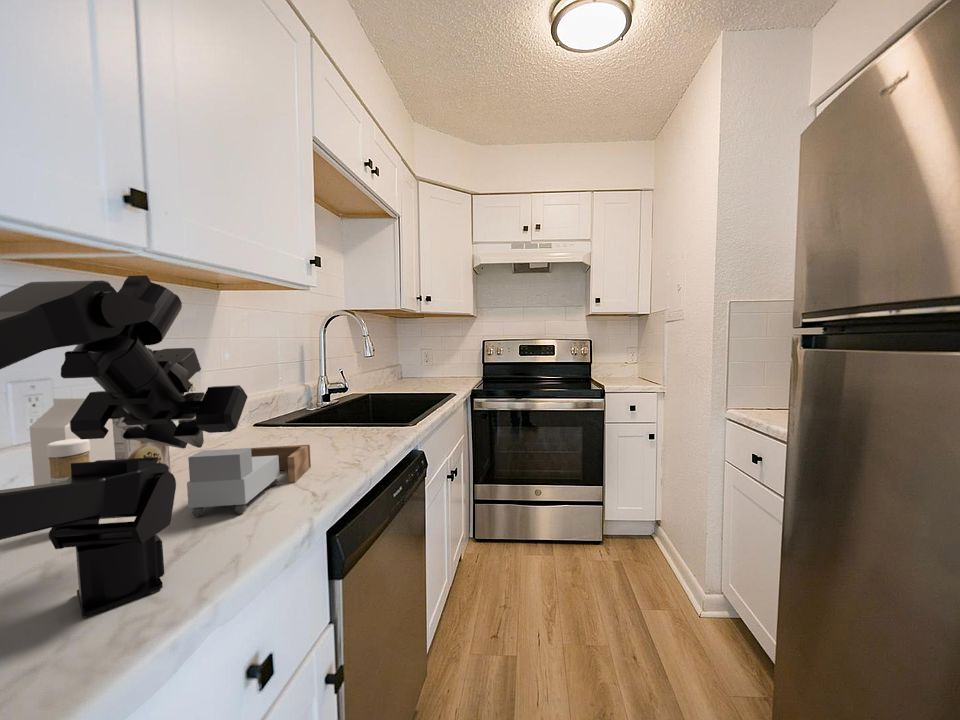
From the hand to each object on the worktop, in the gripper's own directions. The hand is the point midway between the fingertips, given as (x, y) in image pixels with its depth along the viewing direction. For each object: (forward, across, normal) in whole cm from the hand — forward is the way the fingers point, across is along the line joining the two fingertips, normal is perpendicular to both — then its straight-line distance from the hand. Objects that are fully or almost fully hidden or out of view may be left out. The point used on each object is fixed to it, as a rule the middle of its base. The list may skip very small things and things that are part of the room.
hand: (193, 445), depth 60 cm
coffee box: (+26, +25, -8) cm, 37 cm away
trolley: (+18, 0, 0) cm, 18 cm away
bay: (+26, 0, -8) cm, 27 cm away
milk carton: (+17, +25, +1) cm, 30 cm away
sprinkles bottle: (+12, +20, +6) cm, 24 cm away
